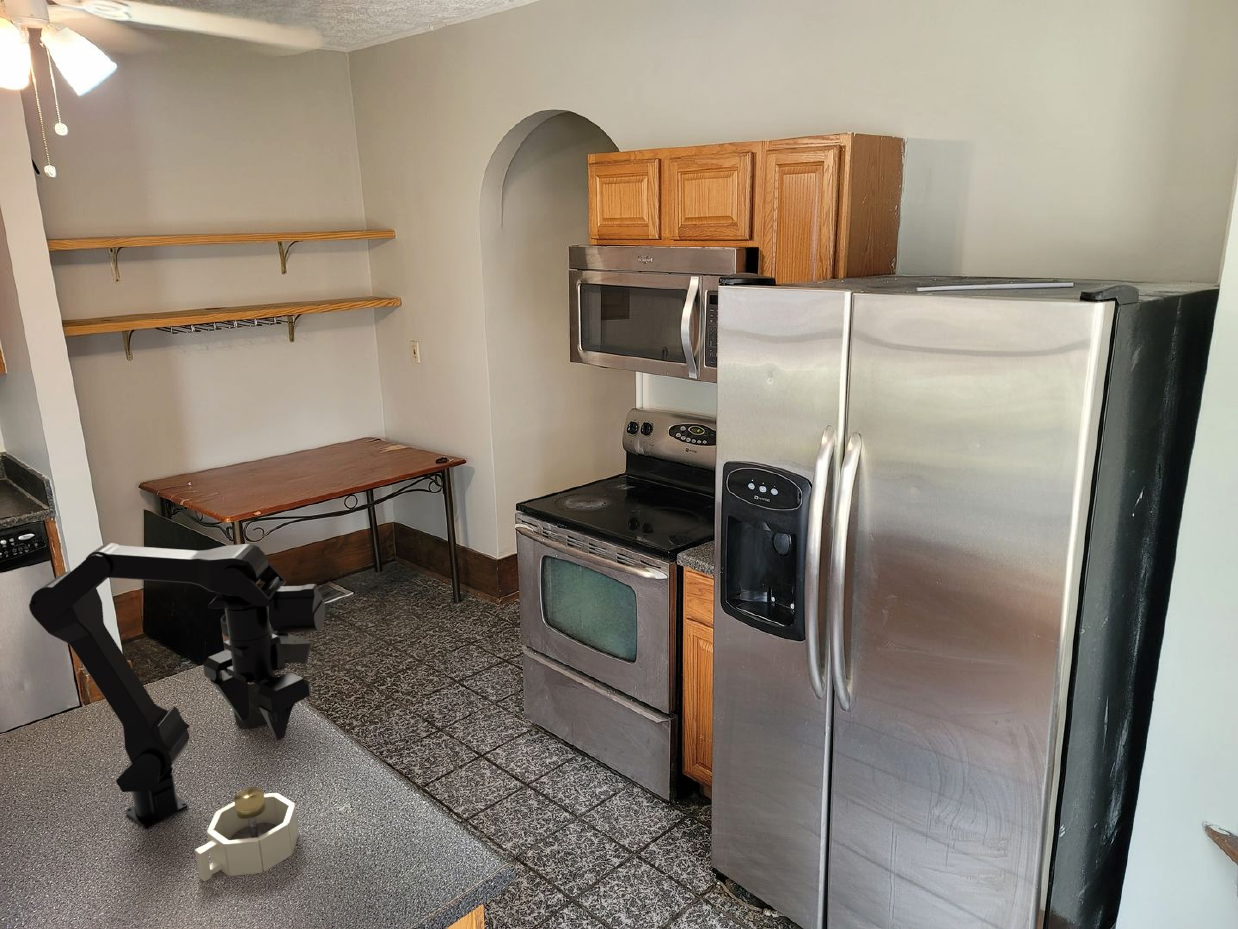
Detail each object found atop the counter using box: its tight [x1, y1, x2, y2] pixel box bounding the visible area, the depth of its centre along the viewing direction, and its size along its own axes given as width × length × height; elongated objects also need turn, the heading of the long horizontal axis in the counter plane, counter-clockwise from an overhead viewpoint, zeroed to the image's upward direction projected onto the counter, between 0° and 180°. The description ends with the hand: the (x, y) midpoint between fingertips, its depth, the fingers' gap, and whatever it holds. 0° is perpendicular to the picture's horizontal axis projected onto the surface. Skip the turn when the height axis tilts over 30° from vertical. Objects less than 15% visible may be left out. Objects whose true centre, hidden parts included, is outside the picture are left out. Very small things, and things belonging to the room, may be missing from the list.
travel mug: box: [220, 613, 276, 729], centre depth 158 cm, size 8×8×20 cm
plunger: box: [230, 786, 277, 840], centre depth 125 cm, size 7×7×8 cm
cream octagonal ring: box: [194, 792, 300, 882], centre depth 124 cm, size 11×13×5 cm
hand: (262, 729), depth 132 cm, fingers open, 9 cm apart
